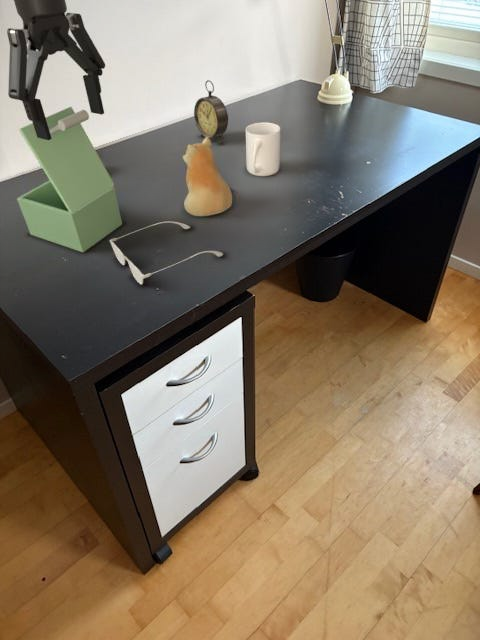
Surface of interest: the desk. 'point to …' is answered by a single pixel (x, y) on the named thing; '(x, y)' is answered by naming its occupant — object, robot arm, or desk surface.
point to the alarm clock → (211, 116)
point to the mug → (263, 148)
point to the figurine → (204, 182)
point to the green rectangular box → (69, 217)
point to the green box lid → (69, 158)
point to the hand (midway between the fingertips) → (72, 125)
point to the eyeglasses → (134, 269)
